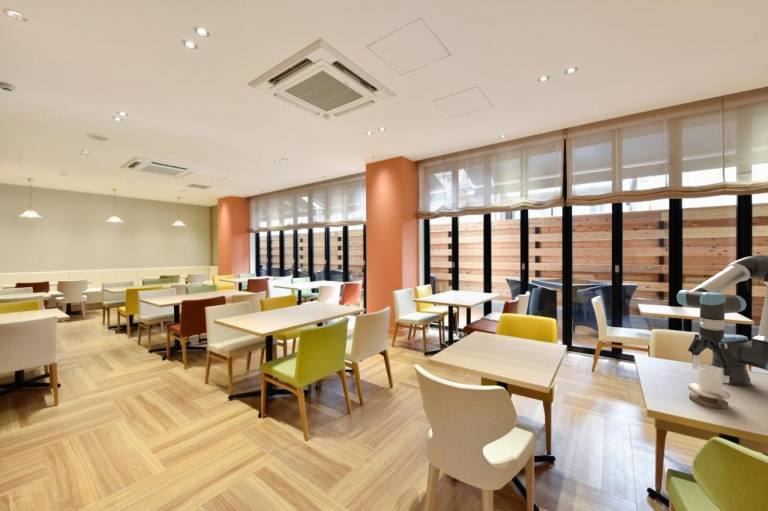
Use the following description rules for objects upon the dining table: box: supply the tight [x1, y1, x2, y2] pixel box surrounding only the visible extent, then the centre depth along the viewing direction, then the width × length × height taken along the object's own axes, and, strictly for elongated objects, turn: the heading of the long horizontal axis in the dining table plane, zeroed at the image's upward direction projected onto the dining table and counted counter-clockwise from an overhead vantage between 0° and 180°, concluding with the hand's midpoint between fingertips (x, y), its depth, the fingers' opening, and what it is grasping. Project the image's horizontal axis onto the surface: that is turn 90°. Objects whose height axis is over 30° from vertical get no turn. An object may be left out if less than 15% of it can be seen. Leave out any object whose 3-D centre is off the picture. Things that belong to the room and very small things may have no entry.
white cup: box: [697, 364, 723, 394], centre depth 138 cm, size 8×8×10 cm
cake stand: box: [687, 382, 731, 410], centre depth 139 cm, size 13×13×6 cm
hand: (709, 375), depth 138 cm, fingers open, 13 cm apart
